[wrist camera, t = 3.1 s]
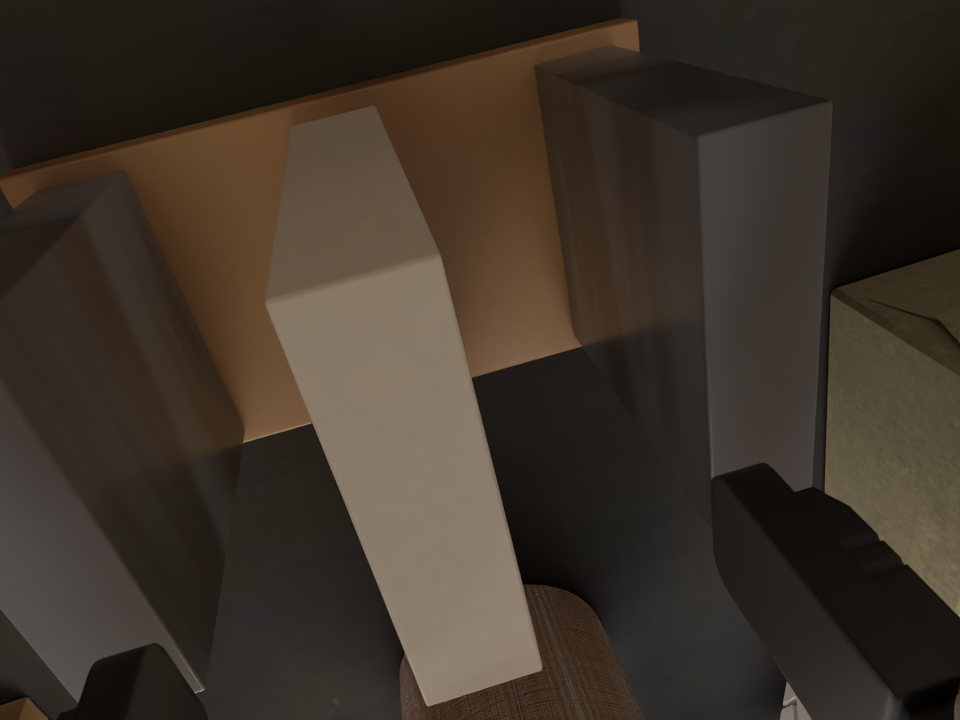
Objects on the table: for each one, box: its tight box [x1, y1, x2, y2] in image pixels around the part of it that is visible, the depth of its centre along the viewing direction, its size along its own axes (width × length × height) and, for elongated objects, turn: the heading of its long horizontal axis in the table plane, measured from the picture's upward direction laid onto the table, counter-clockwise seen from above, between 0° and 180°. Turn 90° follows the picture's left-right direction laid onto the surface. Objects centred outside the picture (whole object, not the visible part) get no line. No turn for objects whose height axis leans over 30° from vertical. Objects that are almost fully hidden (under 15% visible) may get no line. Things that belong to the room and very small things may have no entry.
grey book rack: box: [0, 17, 833, 703], centre depth 18 cm, size 18×10×11 cm, turn 102°
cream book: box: [265, 106, 543, 706], centre depth 17 cm, size 2×9×12 cm, turn 12°
